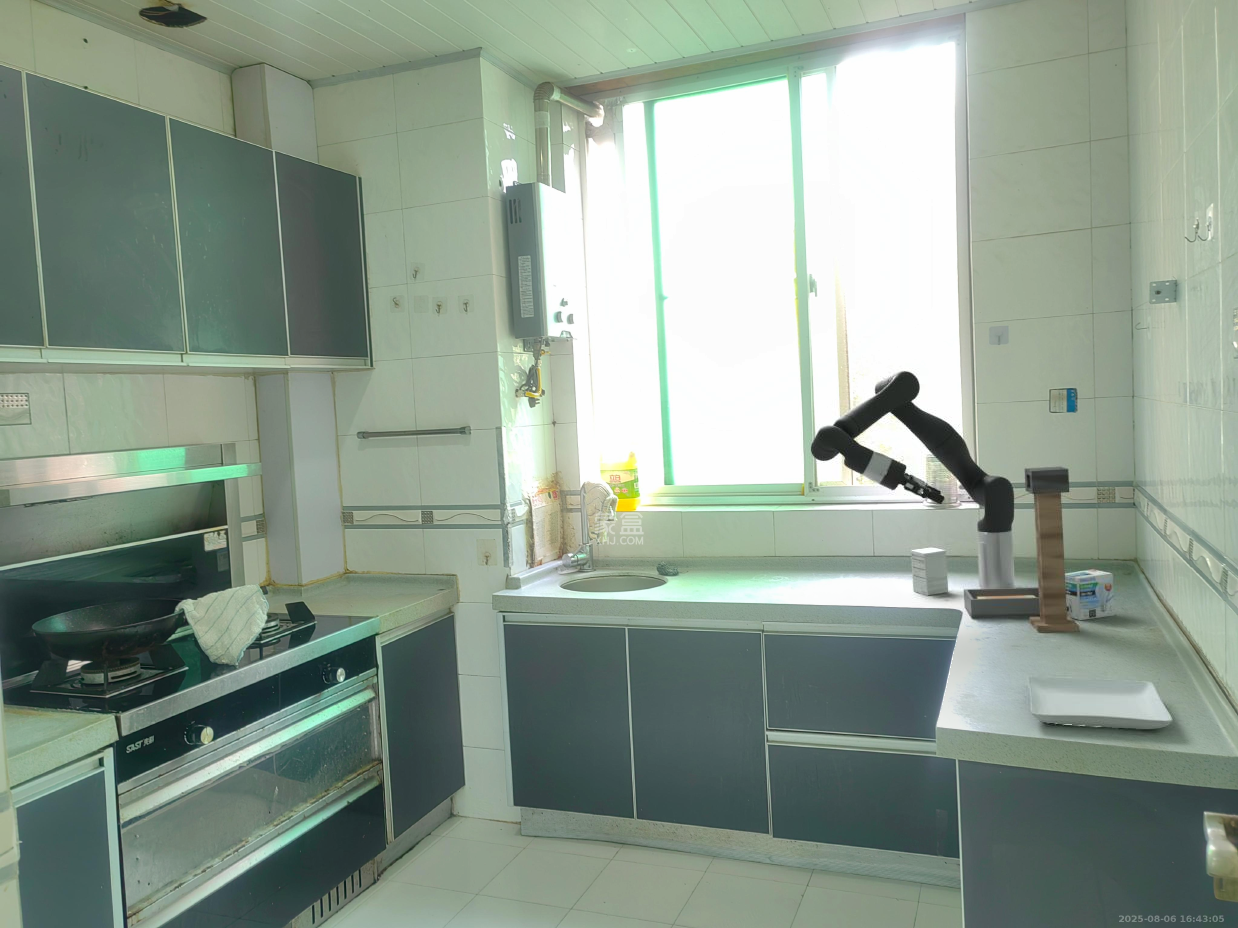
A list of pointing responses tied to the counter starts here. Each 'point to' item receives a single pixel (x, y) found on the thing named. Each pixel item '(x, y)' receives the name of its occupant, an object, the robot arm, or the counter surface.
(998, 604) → the tray
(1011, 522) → the robot arm
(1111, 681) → the salad plate
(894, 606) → the counter surface
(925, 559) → the supplement box
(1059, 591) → the stand
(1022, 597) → the tan wooden bar
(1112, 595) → the light bulb box
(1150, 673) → the counter surface
